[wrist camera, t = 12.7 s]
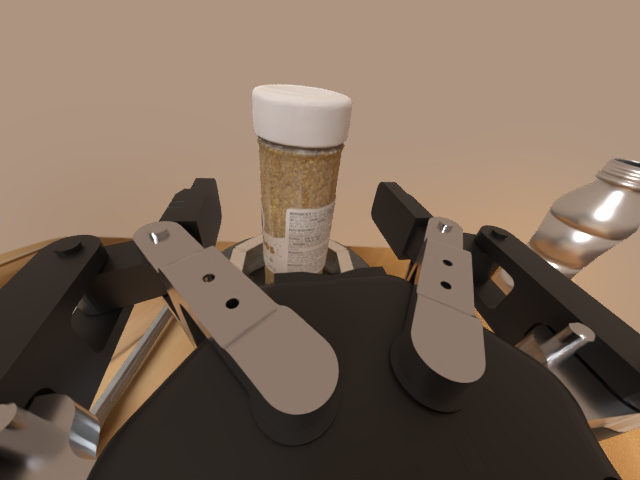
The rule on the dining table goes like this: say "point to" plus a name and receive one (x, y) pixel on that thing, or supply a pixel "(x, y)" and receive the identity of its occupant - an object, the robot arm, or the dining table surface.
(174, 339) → the dining table surface
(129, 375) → the combination wrench
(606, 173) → the plastic bottle
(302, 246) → the spice jar
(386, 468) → the robot arm
